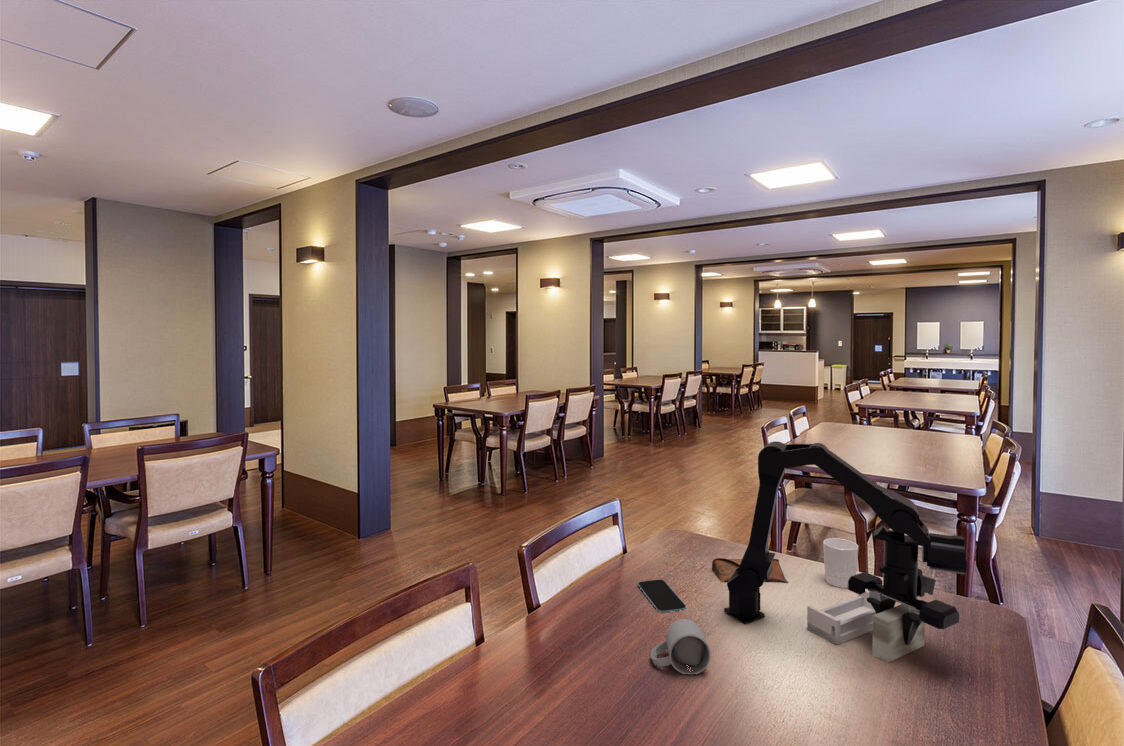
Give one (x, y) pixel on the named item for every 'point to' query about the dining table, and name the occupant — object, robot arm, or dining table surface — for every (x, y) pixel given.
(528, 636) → the dining table surface
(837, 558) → the white cup
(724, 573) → the sunglasses case
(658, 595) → the smartphone
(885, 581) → the robot arm
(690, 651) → the ceramic mug
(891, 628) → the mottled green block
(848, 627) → the cabinet track
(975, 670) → the dining table surface
